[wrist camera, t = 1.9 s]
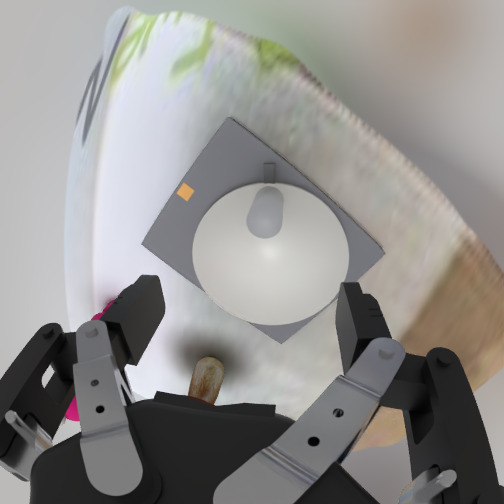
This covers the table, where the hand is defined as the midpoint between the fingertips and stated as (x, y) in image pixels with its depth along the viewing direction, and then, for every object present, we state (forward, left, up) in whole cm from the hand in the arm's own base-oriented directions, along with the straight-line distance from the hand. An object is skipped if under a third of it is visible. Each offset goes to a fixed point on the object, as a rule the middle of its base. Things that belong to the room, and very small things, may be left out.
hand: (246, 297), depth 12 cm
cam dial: (-4, +4, -17) cm, 18 cm away
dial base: (-3, +5, -18) cm, 19 cm away
